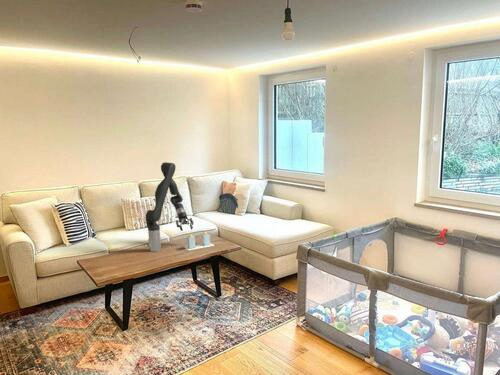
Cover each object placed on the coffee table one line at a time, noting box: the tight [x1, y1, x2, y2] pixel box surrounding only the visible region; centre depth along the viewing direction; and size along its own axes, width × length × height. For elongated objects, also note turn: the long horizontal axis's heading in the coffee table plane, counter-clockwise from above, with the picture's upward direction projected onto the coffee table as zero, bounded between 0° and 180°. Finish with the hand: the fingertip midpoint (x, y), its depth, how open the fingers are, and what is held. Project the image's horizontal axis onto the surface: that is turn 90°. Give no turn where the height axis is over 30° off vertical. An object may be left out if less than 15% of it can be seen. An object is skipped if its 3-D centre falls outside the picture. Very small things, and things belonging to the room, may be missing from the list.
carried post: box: [186, 234, 196, 249], centre depth 311 cm, size 5×5×10 cm
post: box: [201, 232, 211, 246], centre depth 318 cm, size 5×5×10 cm
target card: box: [183, 242, 215, 251], centre depth 315 cm, size 23×12×1 cm, turn 120°
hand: (187, 229), depth 317 cm, fingers open, 8 cm apart
